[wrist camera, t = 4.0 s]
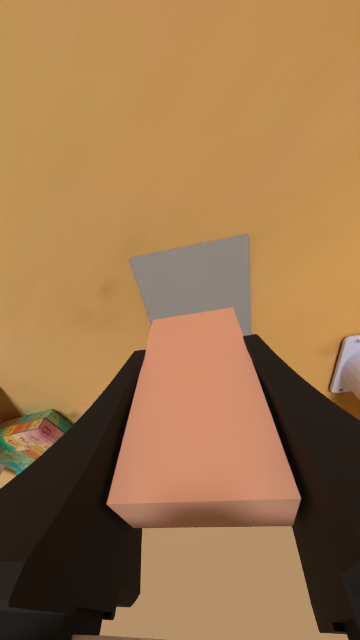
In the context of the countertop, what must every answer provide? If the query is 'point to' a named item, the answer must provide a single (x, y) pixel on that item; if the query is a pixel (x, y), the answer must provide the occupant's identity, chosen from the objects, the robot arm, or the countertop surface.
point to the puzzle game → (29, 438)
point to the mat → (197, 280)
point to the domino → (201, 434)
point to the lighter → (1, 468)
